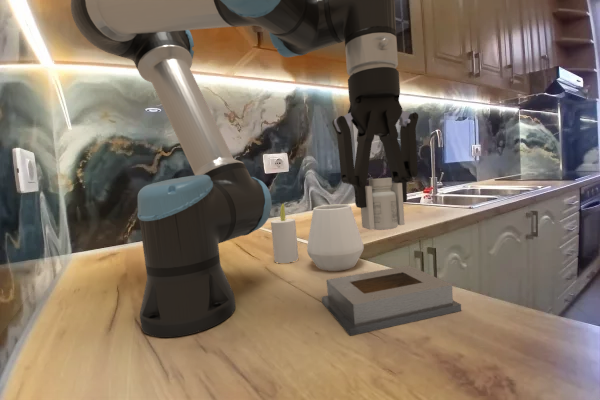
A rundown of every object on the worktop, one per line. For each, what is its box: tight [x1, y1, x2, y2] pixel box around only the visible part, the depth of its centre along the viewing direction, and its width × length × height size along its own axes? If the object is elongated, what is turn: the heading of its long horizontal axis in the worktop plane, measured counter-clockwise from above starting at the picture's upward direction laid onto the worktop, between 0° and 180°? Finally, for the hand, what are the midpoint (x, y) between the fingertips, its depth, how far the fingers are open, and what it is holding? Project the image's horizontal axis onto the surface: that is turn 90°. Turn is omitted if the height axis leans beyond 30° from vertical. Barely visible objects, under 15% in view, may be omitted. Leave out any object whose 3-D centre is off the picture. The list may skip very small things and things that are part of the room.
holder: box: [321, 264, 462, 337], centre depth 51 cm, size 18×12×4 cm, turn 105°
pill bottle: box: [368, 177, 399, 231], centre depth 49 cm, size 4×4×8 cm
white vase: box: [306, 203, 365, 272], centre depth 75 cm, size 13×13×14 cm
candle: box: [270, 203, 299, 264], centre depth 82 cm, size 6×6×15 cm
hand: (383, 225), depth 50 cm, fingers closed on pill bottle, 4 cm apart
